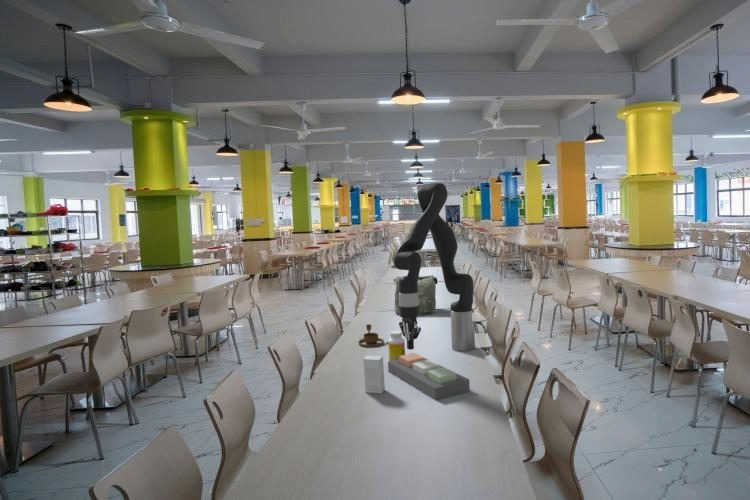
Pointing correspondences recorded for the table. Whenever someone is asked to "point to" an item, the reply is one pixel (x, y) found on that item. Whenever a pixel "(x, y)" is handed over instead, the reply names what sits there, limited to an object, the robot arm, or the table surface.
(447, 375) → the sage key
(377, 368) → the skincare box
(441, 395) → the keypad
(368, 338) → the place setting
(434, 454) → the table surface
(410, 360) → the terracotta key
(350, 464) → the table surface
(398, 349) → the supplement bottle
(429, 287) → the lunch bag
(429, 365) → the grey key
